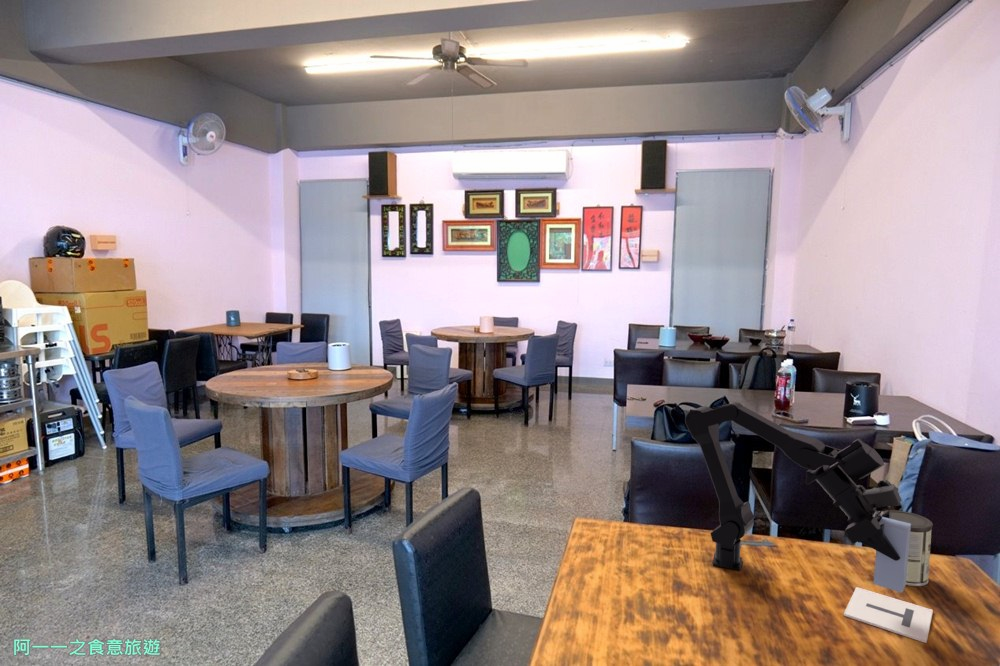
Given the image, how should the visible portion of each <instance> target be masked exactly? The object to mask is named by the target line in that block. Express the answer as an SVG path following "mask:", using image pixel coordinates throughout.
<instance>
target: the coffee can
mask: <svg viewBox="0 0 1000 666" xmlns="http://www.w3.org/2000/svg"><path fill="white" fill-rule="evenodd" d="M882 511H883V513H886V512H888V511H891V515H890V519H893V520H897V521H902V522H906V523H910V524H911V529H910V541H909V553H908V565H907V576H906V585H905V586H910V587H923V586H927V585H928V583H929V574H930V573H929V571H930V558H931V545H932V543H931V542H932V540H931V539H932V529H933V526H934V523H933V522H932V520H930V519H928V518H927V517H925V516H922V515H919V514H917V513H914V512H910V511H903V510H897V509H893V510H892V509H891V510H890V509H886V510H882Z"/></svg>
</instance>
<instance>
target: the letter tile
mask: <svg viewBox="0 0 1000 666" xmlns="http://www.w3.org/2000/svg"><path fill="white" fill-rule="evenodd" d="M933 612H934V610H933V609H930V608H927V607H926V606H925V607H924V606H922V605H917V604H914V603H911V602H908V601H904V600H901V599H898V598H896V597H895V598H894V597H891V596H887V595H885V594H881V593H877V592H874V591H871V590H868V589H865V588H860V587H859V586H856V587H855V589H854V592H853V593H852V596H851V598H850V599H849V602H848V604H847V606H846V608H845V610H844V613H843V616H844V617H846V618H849V619H853V620H855V621H859V622H861V623H864V624H868V625H871V626H874V627H877V628H879V629H882V630H886V631H889V632H892V633H894V634H897V635H900V636H904V637H906V638H910V639H913V640H916V641H919V642H921V643H923V644H924V643H925V644H927V643H928V642H927V641H928V637H929V634H930V633H929V632H930V627H931V624H932V623H931V622H932V618H933Z"/></svg>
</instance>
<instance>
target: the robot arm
mask: <svg viewBox="0 0 1000 666" xmlns="http://www.w3.org/2000/svg"><path fill="white" fill-rule="evenodd" d="M729 421H731V422H733V423H735V424H737V425H738V426H741V427H742V428H744V429H745V430H748V431H749V432H751V433H753V434H755V435H757V436H759V437H760V438H761V439H764V440H765V441H767V442H769V443H771V444H772V445H774V446H775V447H777V448H778V449H780V450H781V451H782V452H783V453H784V455H785V456H787V458H789V459H790V460H791V461H792V462H794V463H795V464H796V465H798V466H799V467H801V468H803V469H807V471H806V472H805V473H806V480H805V484H806V485H810V484H811V483H813V482H815V481H816V482H817V483H818V484H819V485H820V487H822V489H823V490H824V491H825V492H826V493H827V495H829V497H830V498H831V499H832V501H833V503H832V506H834V507H835V508H838V507H839V508H840V509H841V511H842V512H843V513H844V514H845V516H847V517H848V519H847V522H848V523H849V524H848V525H847V527H845V530H844V537H845V539H846V540H847V541H848V542H849V543H850V545H855V544H856V543H858V544H859V543H860V544H863V545H865V546H867V547H868V548H871V549H873V550H875V552H876V551H878V552H880V553H882V554H884V555H886V556H888V557H889V558H891V559H893V560H895V561H897V560H899V559H900V556H899V555H898V553H897V552H896V550H895V549H894V547H893V546H892V544H891V543H890V542H889V540H888V539H887V537H886V536H885V534H884V524H882V525H880V524H879V522H880V520H881V518H882V517H885V518H889V519H890V515H891V511H888V512H886V513H883V511H884V509H886V510H890V508H891V507H897V506H899V505H900V504H901V502H902V498H901V495H900V493H899V488H898V487H897V486H896V485H895V484H894V483H893V484H892V483H891V482H889V481H888V480H887V479H882V480H881V479H880V480H878V482H877V484H876V485H877V486H876V487H875V486H874V487H872V488H871V489H866V488H865V487H864V486H863V485H861V484H858V485H857V484H856V482H854V481H853V480H852V479H855V478H856V479H857V480H862V479H864V478H866V477H867V476H869V475H871V474H872V473H874V472H875V471H877V470H879V469H880V468H882V467H884V466H885V462H884V460H883V459H882V456H881V455H880V454H879V452H877V451H876V450H875V448H873V447H872V446H870V445H868V444H867V443H866V442H864V441H862V440H861V439H860V438H857V439H854V441H852V443H851V444H850V445H848V446H847V447H845V448H843V449H839V448H836V447H833V446H829V445H826V444H825V443H824V442H823V441H821V440H820V439H818V438H815V437H813V436H811V435H810V436H809V435H807V434H804V433H800V432H796V431H795V432H794V431H791V430H789V429H786V428H785V427H783V426H781V425H779V424H778V423H776V422H773V421H772V420H770V419H768V418H766V417H765V416H762V415H760V414H759V413H757V412H755V411H753V410H751V409H750V408H748V407H746V406H744V405H743V404H741V402H739V401H738V402H737V401H732V402H730V403H728V404H724V405H718V406H716V407H715V406H714V407H710V406H707V405H706V406H703V405H702V406H700V407H697V408H695V409H692V410H690V411H689V412H687V414H686V416H685V417H684V423H685V426H686V427H687V429H688V431H689V433H690V435H691V437H692V438H693V439H694V440H695V441H696V443H697V444H698V445H699V446H700V447H699V448H700V450H701V452H702V455H703V458H704V460H705V464H706V467H707V470H708V474H709V476H710V479H711V482H712V484H713V487H714V490H715V494H716V497H717V499H718V504H719V505H718V506H719V507H718V518H719V519H718V520H719V523H720V524H719V525H718V526H717V527H716V528H715V529H713V530H712V531H711V532H710V537H711V539H712V542H714V543H715V551H714V555H713V558H712V562H711V563H712V564H711V565H713V566H715V567H716V566H717V567H721V568H725V569H731V570H736V571H741V570H742V563H743V558H742V557H741V543H742V542H741V539H742V538H744V537H745V536H746V535H747V534H748V533H749V532H750V531H751V530H752V529H753V527H754V519H755V518H756V516H755V515H754V513H753V511H752V508H751V503H750V501H746V502H744V501H743V500H742V499H741V498H740V497H739V495H738V492H737V489H736V486H735V484H734V482H733V481H734V480H733V478H732V475H731V471H730V469H729V466H728V464H727V459H726V458H725V455H724V452H723V448H722V446H721V442H720V424H721V423H725V422H729ZM834 462H835V463H834ZM833 463H834V464H833ZM831 464H832V465H831ZM818 466H819V467H818ZM816 467H818V468H816ZM814 468H816V469H815V470H813V469H814Z"/></svg>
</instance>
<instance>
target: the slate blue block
mask: <svg viewBox="0 0 1000 666" xmlns="http://www.w3.org/2000/svg"><path fill="white" fill-rule="evenodd" d="M879 524H880V525H882V524H884V534H885V536H886V537H887V539H888V540H889V542H890V543H891V544H892V546H893V547H894V549H895V550H896V552H897V553H898V555H899V556H900V559H899V560H897V561H895V560H893V559H891V558H889V557H888V556H886V555H884V554H882V553H880V552H878V551H876V550H875V561H874V572H873V575H874V576H873V585H876V586H878V587H882V588H886V589H889V590H893V591H895V592H898V593H902V594H903V592H904V590H905V587H906V586H907V585H906V576H907V565H908V553H909V541H910V529H911V524H910V523H906V522H902V521H897V520H893V519H889V518H885V517H882V518H881V520H880V522H879Z"/></svg>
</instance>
